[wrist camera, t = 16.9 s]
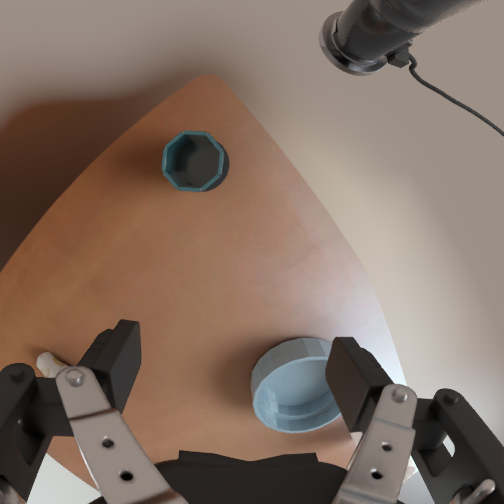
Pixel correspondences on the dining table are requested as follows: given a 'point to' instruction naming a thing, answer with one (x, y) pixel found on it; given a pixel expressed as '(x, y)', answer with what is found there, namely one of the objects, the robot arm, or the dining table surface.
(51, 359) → the white pear shape
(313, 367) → the glazed bowl
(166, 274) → the dining table surface
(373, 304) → the dining table surface
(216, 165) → the teal cup
